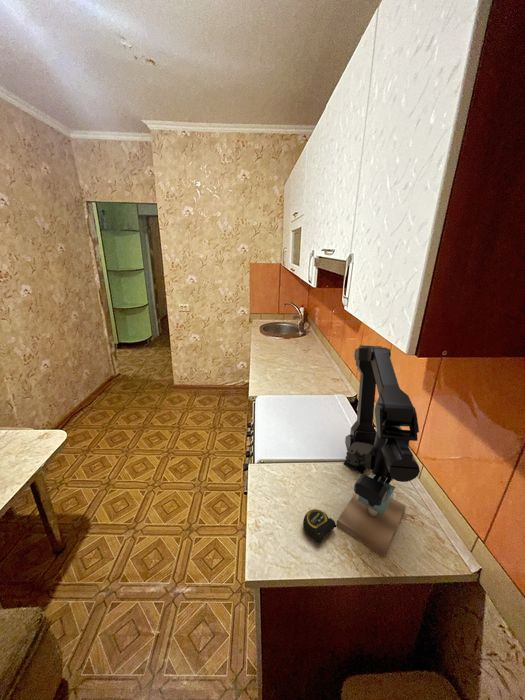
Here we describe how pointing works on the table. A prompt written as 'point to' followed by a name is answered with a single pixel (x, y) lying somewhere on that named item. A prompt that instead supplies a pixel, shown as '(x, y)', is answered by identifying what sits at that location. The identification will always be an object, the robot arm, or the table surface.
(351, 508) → the post board
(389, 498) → the collar
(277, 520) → the table surface
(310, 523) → the tape measure
